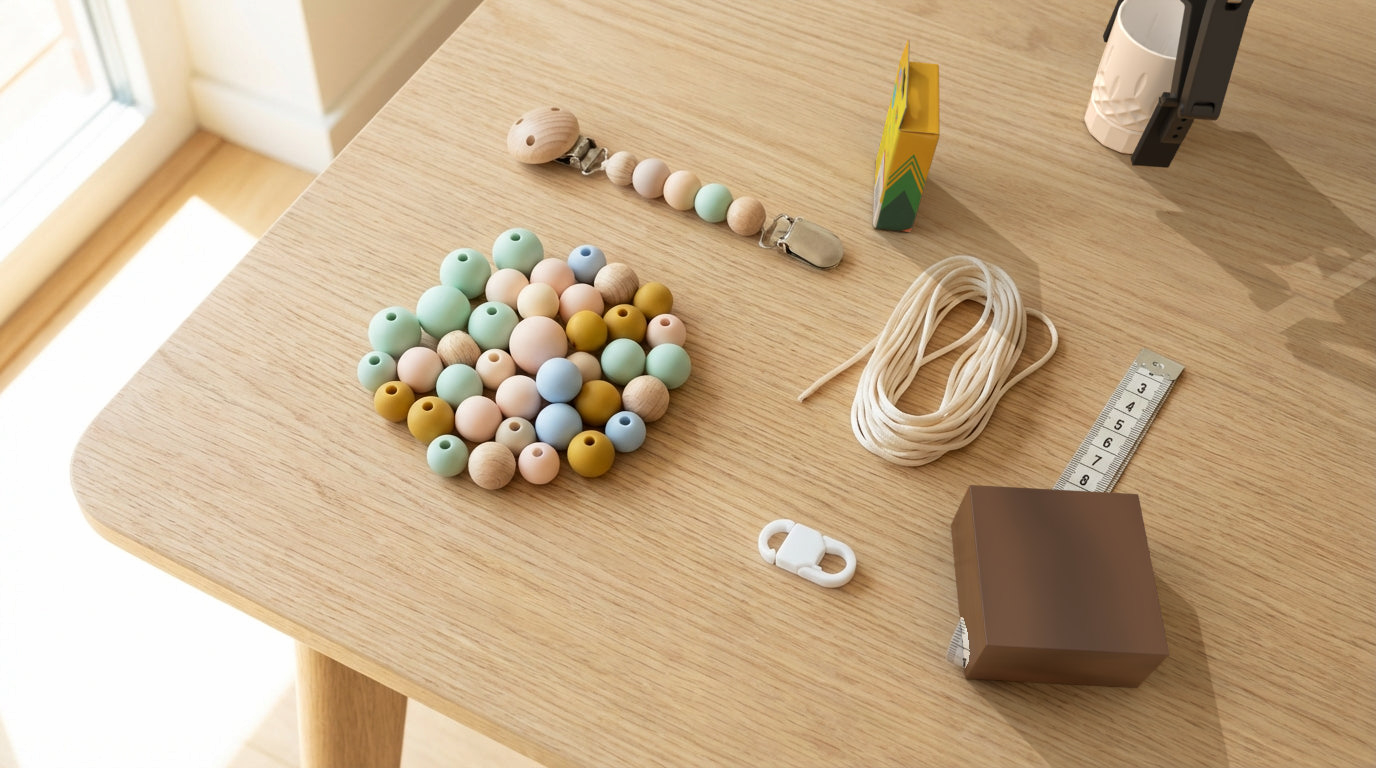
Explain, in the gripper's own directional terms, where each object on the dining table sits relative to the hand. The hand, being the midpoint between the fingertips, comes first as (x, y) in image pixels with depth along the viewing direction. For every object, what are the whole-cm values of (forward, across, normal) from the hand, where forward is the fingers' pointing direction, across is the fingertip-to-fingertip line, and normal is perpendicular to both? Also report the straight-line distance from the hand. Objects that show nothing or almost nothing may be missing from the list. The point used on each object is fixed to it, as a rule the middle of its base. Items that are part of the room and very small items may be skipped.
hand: (1133, 99), depth 94 cm
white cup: (+3, 0, 0) cm, 3 cm away
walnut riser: (+2, +42, -12) cm, 43 cm away
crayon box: (+3, +9, -19) cm, 21 cm away
